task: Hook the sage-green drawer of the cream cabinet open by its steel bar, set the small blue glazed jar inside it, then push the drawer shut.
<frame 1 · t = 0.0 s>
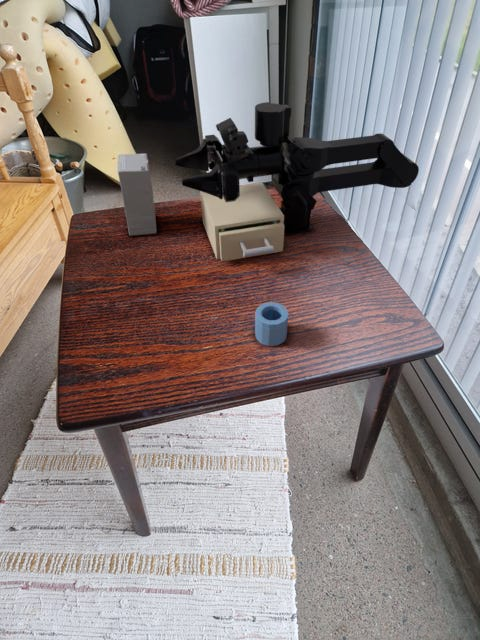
hand: (178, 172, 82), 17 cm above the table, tool horizontal, fingers open, 9 cm apart
cosmetic box: (144, 227, 99), on the table
cabinet: (240, 235, 96), on the table
drawer: (246, 231, 89), point 4 cm above the table, slide at 1.0 cm
jar: (270, 334, 73), on the table
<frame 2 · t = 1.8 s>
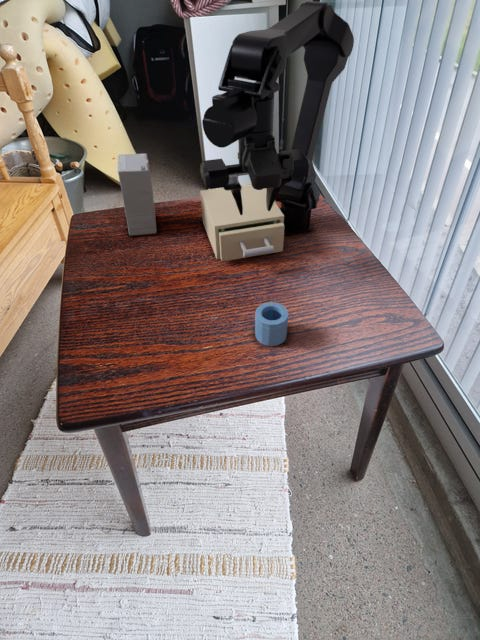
hand: (254, 212, 80), 12 cm above the table, tool pointing down, fingers open, 5 cm apart
nothing on the table moved.
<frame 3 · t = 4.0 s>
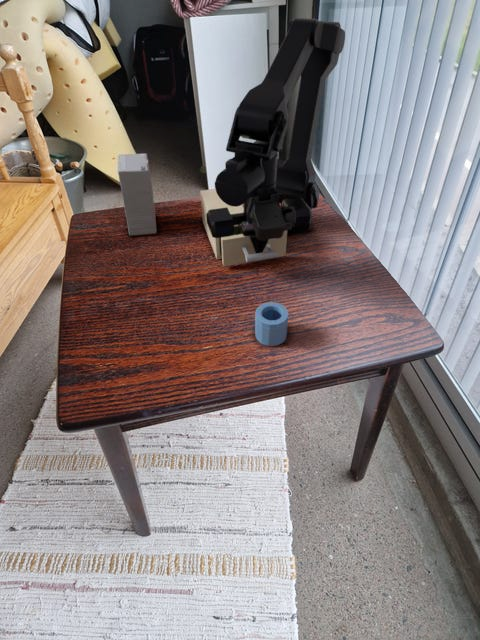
hand: (258, 255, 83), 4 cm above the table, tool pointing down, fingers closed, pressing on drawer
drawer: (248, 235, 88), point 4 cm above the table, slide at 2.8 cm, touching gripper
everything else where it was.
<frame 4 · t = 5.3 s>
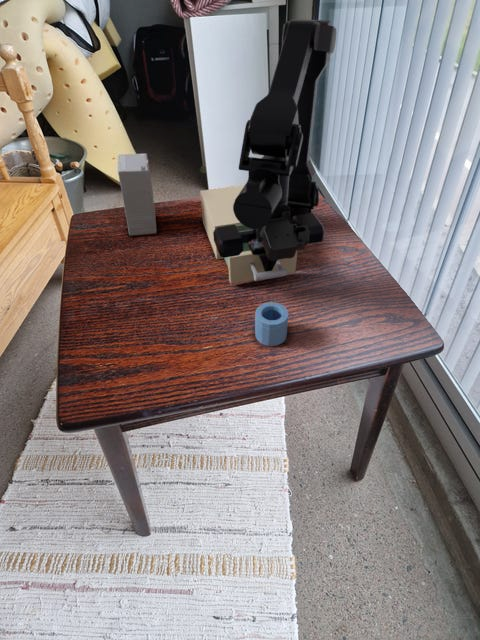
hand: (267, 273, 79), 4 cm above the table, tool pointing down, fingers closed, pressing on drawer
drawer: (256, 251, 84), point 4 cm above the table, slide at 8.7 cm, touching gripper
everything else where it was.
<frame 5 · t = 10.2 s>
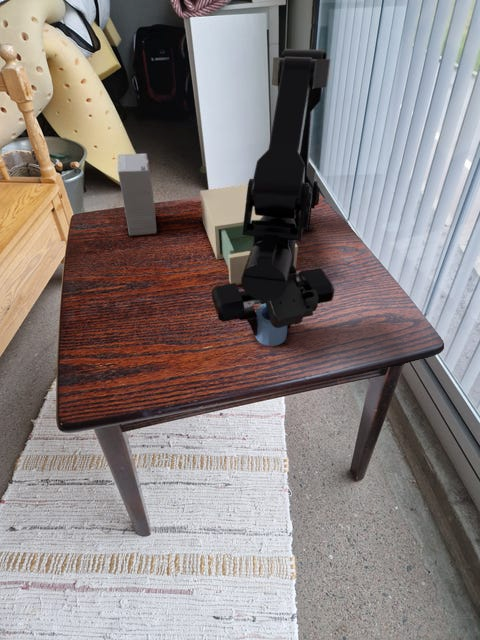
hand: (270, 330, 72), 1 cm above the table, tool pointing down, fingers closed on jar, 5 cm apart
drawer: (256, 251, 84), point 4 cm above the table, slide at 8.8 cm
jar: (270, 334, 73), on the table, touching gripper
everything else where it was.
when the fingers open (4 cm above the table, at t = 16.5 s): jar stays where it is, resting on drawer.
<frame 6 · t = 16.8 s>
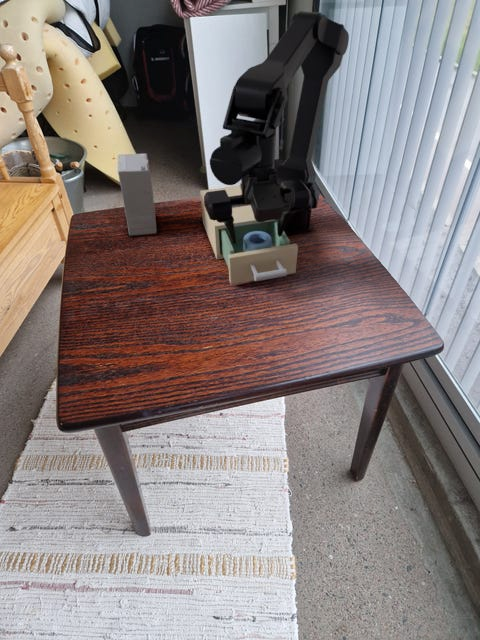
hand: (256, 239, 82), 7 cm above the table, tool pointing down, fingers open, 9 cm apart
drawer: (256, 251, 84), point 4 cm above the table, slide at 8.8 cm, touching jar
jar: (257, 260, 85), point 2 cm above the table, touching drawer
everything else where it was.
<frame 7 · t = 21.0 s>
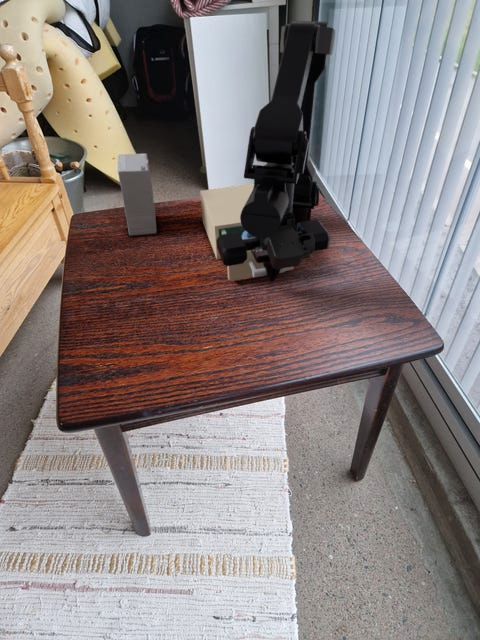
hand: (271, 280, 78), 4 cm above the table, tool pointing down, fingers closed, pressing on drawer
drawer: (255, 248, 85), point 4 cm above the table, slide at 7.6 cm, touching gripper, jar
jar: (255, 257, 86), point 2 cm above the table, touching drawer
everything else where it was.
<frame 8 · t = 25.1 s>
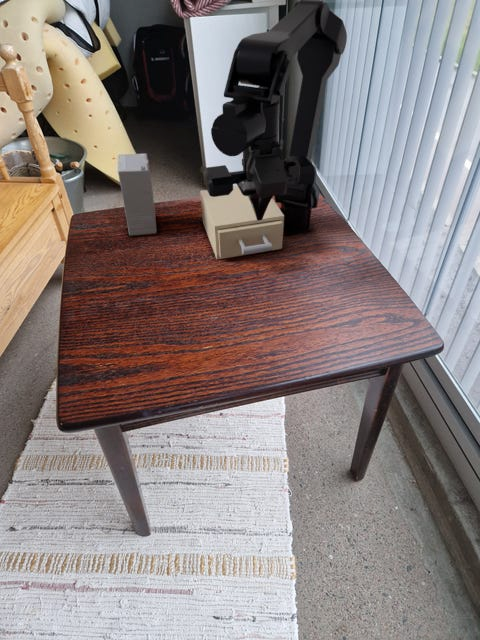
hand: (259, 219, 78), 12 cm above the table, tool pointing down, fingers closed
drawer: (245, 228, 90), point 4 cm above the table, slide at 0.0 cm, touching jar
jar: (245, 237, 92), point 2 cm above the table, touching drawer
everything else where it was.
at the end: drawer pulled out 8.9 cm at the most during the clip, back to where it started at the end; jar inside the target area in the cabinet (4.2 cm from its centre), point 2.0 cm above the cabinet's base; drawer slide at 0.0 cm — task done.
